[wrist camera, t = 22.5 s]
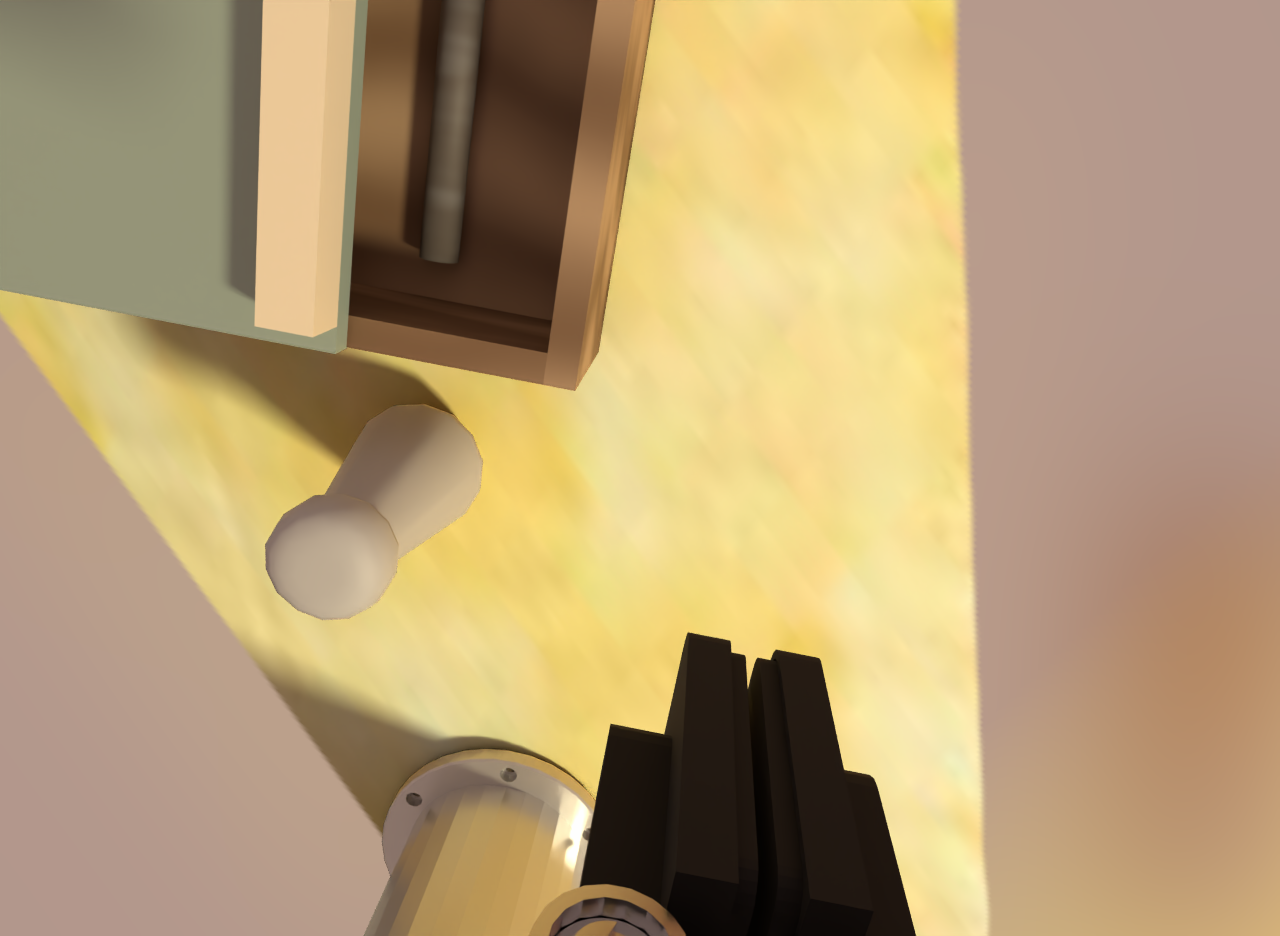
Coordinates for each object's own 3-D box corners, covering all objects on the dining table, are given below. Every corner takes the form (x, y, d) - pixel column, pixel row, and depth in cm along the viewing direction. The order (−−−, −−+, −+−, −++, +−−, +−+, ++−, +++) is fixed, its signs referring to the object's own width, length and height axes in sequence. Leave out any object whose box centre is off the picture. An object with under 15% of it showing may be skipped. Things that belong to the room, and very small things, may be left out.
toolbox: (598, 352, 39) (574, 390, 33) (291, 293, 40) (206, 320, 33) (683, -175, 33) (675, -260, 26) (312, -242, 33) (211, -343, 26)
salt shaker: (348, 445, 42) (196, 564, 30) (428, 365, 40) (302, 455, 28) (438, 531, 43) (328, 679, 31) (519, 456, 41) (437, 581, 29)
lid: (346, 348, 33) (311, 366, 30) (-22, 278, 33) (-91, 289, 30) (387, -315, 26) (347, -372, 23) (-75, -397, 26) (-170, -464, 23)
